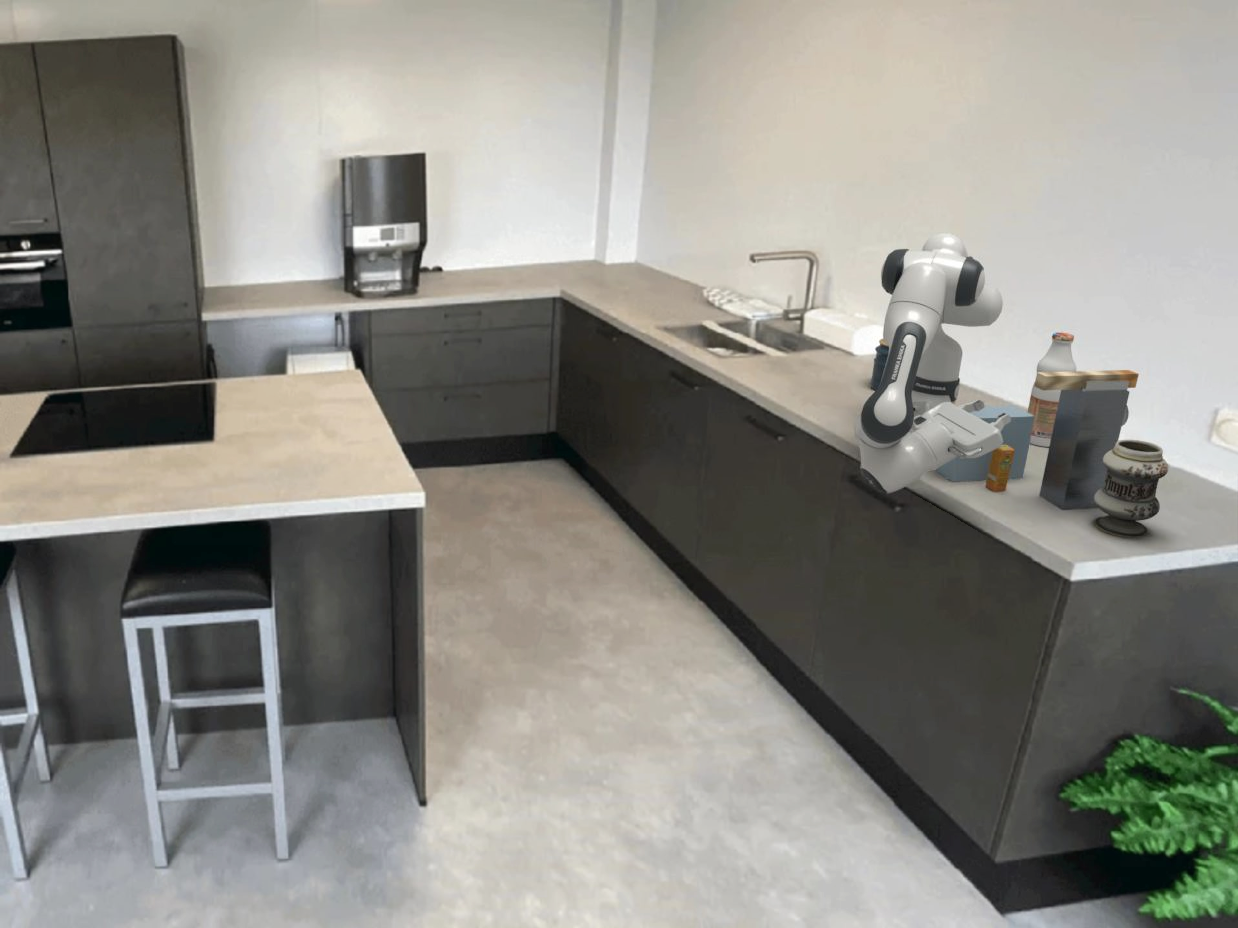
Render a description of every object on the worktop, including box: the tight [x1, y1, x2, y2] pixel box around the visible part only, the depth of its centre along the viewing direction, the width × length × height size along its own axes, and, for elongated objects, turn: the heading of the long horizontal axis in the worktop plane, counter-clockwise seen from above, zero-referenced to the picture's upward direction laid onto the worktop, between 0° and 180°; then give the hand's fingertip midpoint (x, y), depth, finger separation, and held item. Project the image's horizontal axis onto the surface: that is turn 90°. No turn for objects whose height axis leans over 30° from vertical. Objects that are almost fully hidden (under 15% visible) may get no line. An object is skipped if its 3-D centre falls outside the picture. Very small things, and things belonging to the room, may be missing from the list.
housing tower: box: [1039, 380, 1130, 511], centre depth 211 cm, size 12×8×28 cm, turn 103°
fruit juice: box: [1027, 332, 1077, 448], centre depth 248 cm, size 9×9×28 cm
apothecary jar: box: [1094, 439, 1169, 539], centre depth 200 cm, size 12×12×18 cm
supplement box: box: [985, 445, 1015, 492], centre depth 219 cm, size 3×3×10 cm
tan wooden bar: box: [1034, 369, 1139, 391], centre depth 205 cm, size 22×3×3 cm, turn 103°
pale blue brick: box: [934, 405, 1035, 483], centre depth 226 cm, size 18×8×15 cm, turn 103°
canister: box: [870, 338, 889, 392], centre depth 290 cm, size 13×13×18 cm
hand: (994, 409), depth 203 cm, fingers open, 8 cm apart
